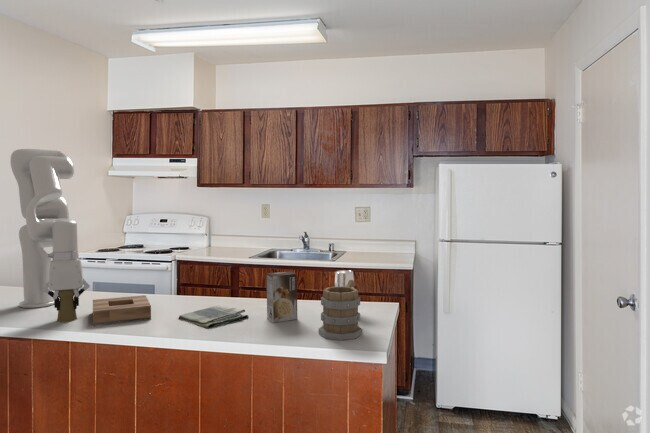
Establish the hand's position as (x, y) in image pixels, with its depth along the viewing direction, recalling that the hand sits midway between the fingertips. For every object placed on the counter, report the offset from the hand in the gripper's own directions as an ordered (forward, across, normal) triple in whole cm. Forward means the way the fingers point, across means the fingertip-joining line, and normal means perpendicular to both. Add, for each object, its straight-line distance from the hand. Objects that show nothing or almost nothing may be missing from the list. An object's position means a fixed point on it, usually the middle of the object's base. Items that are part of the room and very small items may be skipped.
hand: (66, 308), depth 164 cm
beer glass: (+4, +91, -32) cm, 97 cm away
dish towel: (+5, +46, -20) cm, 50 cm away
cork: (+4, 0, 0) cm, 4 cm away
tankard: (+4, +80, -52) cm, 96 cm away
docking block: (+4, +17, -3) cm, 18 cm away
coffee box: (+4, +67, -31) cm, 74 cm away
